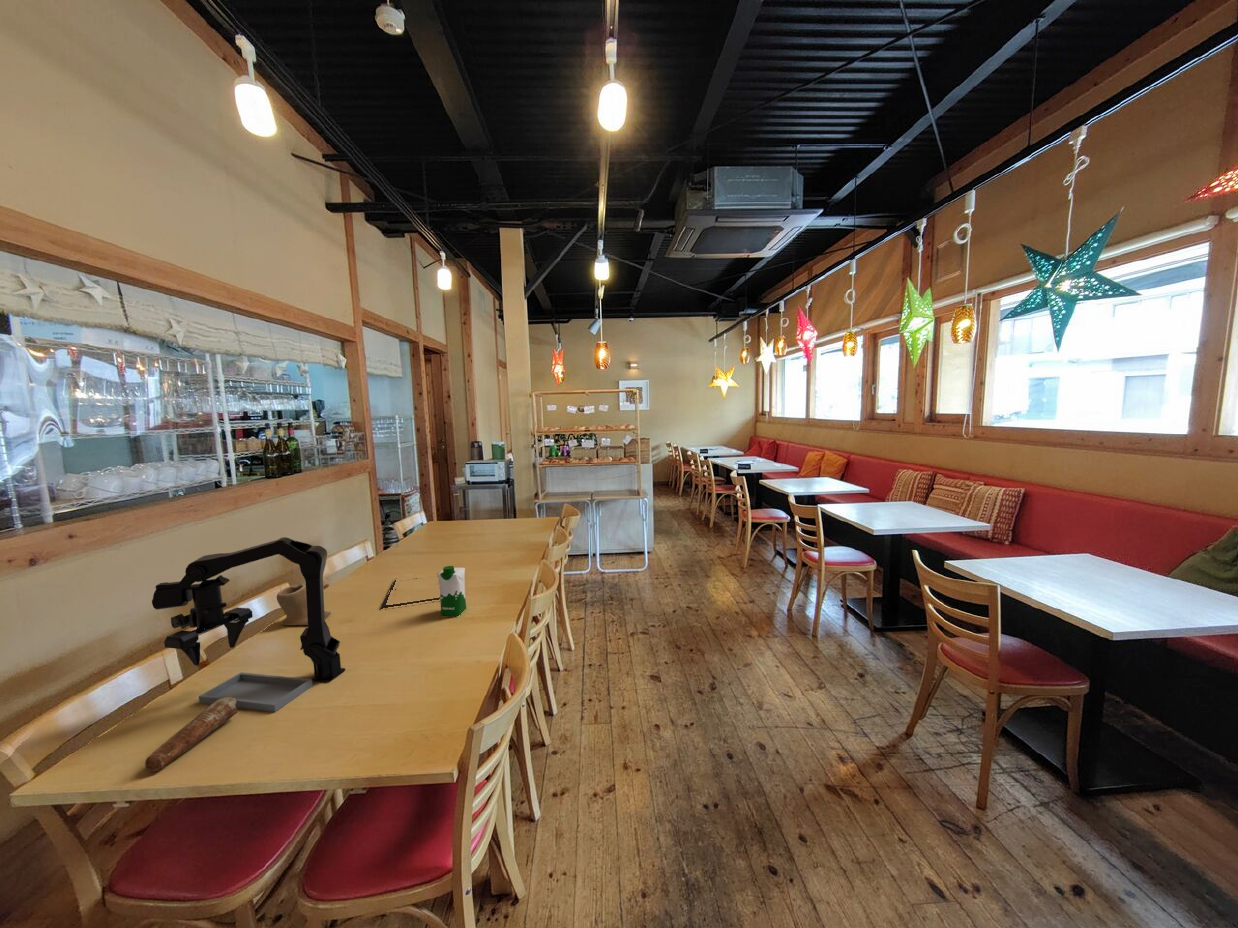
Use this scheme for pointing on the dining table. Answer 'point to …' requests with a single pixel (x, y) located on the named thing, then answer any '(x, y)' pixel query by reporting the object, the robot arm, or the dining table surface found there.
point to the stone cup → (295, 605)
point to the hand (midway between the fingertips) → (215, 655)
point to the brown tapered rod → (192, 733)
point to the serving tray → (258, 691)
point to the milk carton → (452, 591)
